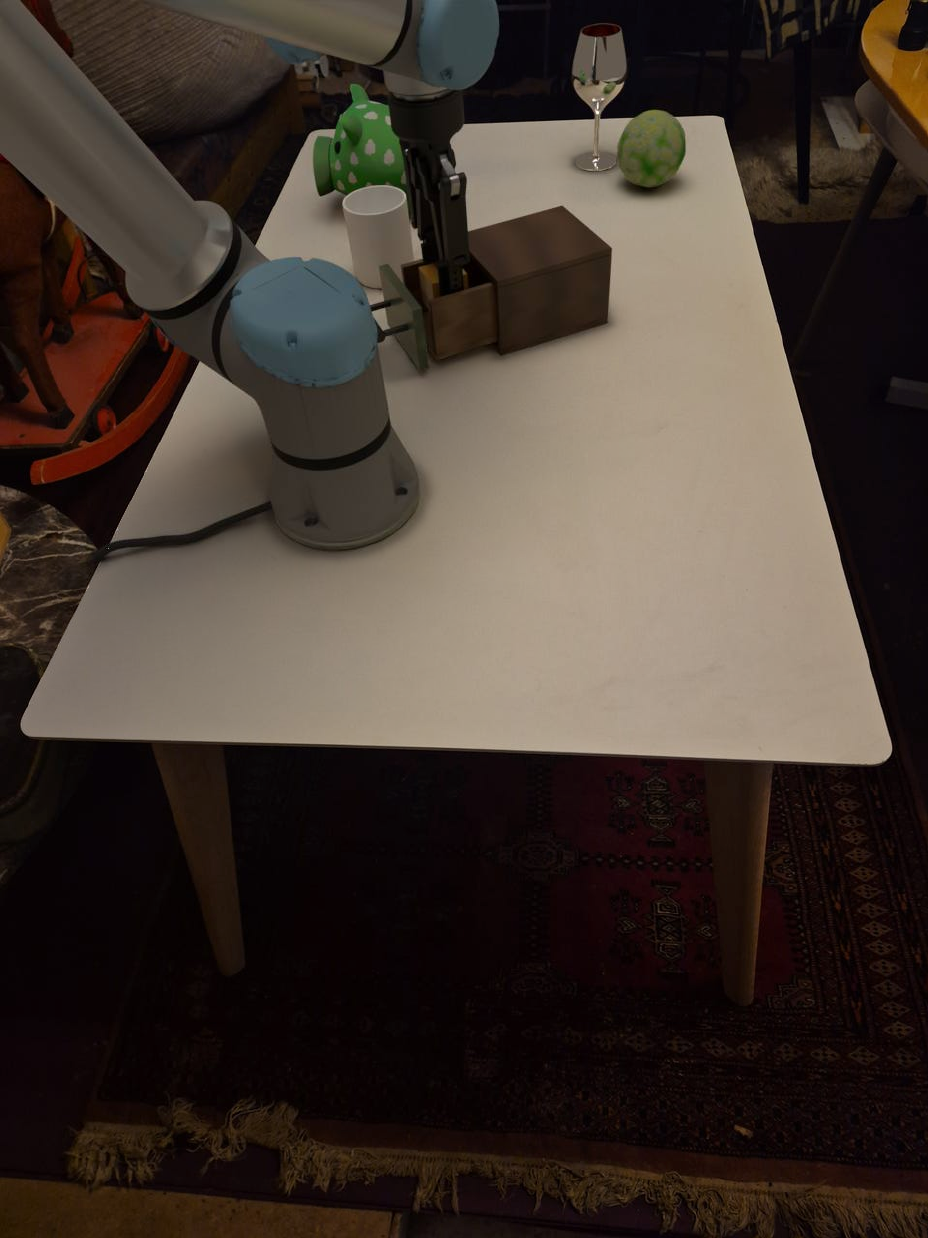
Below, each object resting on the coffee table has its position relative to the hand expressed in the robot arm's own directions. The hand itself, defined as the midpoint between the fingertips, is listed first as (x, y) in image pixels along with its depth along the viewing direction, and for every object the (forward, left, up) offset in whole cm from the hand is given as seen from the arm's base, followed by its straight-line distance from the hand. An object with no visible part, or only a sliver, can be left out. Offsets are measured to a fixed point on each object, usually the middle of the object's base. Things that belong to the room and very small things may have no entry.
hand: (446, 303), depth 103 cm
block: (0, 0, 0) cm, 0 cm away
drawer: (-1, 0, -4) cm, 4 cm away
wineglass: (+39, +35, -5) cm, 53 cm away
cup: (-1, +21, -5) cm, 22 cm away
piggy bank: (+5, +39, -5) cm, 40 cm away
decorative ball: (+42, +24, -5) cm, 49 cm away
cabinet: (+11, 0, -5) cm, 12 cm away
